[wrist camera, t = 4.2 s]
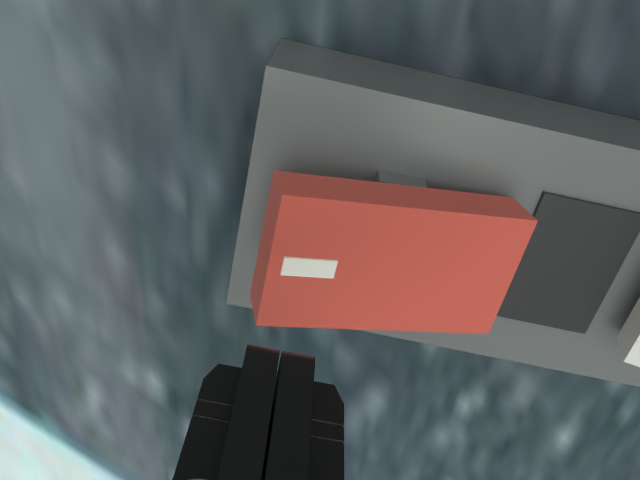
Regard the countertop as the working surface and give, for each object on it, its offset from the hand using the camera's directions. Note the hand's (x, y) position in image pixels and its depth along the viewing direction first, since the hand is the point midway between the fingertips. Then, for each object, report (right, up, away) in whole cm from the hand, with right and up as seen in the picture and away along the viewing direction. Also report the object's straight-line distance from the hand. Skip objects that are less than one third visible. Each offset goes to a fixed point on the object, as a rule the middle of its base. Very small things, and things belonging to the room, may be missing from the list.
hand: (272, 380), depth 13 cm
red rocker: (+3, +2, +6) cm, 7 cm away
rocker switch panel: (+10, +5, +12) cm, 16 cm away
